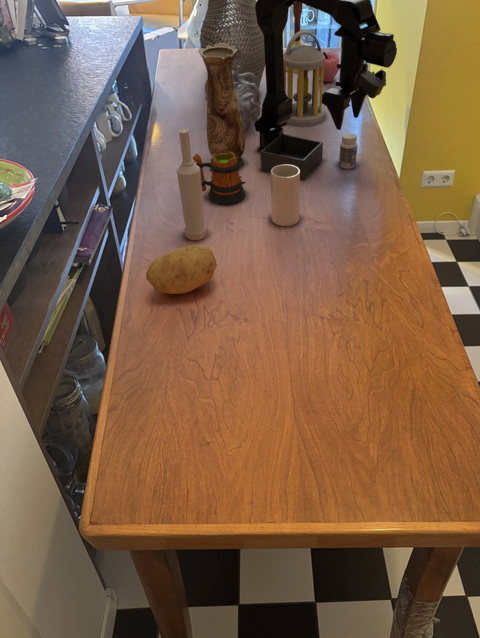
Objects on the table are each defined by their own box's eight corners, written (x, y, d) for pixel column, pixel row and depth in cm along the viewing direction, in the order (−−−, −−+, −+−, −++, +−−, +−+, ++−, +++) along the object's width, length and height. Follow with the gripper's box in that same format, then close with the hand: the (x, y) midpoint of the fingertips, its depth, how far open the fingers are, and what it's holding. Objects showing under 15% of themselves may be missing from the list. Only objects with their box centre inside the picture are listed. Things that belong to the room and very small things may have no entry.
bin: (260, 170, 168) (260, 151, 164) (281, 152, 176) (281, 133, 172) (303, 180, 164) (303, 160, 160) (322, 160, 172) (323, 141, 168)
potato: (219, 299, 126) (216, 260, 119) (149, 304, 125) (142, 265, 118) (217, 271, 133) (214, 233, 126) (151, 276, 132) (144, 238, 125)
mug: (246, 186, 161) (244, 144, 153) (246, 205, 154) (244, 162, 146) (197, 187, 161) (192, 145, 153) (195, 206, 153) (190, 163, 145)
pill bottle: (354, 169, 168) (357, 140, 162) (337, 168, 169) (339, 138, 163) (356, 162, 171) (359, 132, 165) (340, 160, 172) (342, 131, 166)
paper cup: (266, 222, 148) (265, 174, 139) (279, 209, 152) (278, 162, 144) (291, 228, 146) (292, 180, 137) (303, 215, 150) (304, 167, 141)
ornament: (199, 137, 184) (192, 69, 170) (226, 113, 197) (221, 48, 184) (252, 145, 179) (250, 76, 166) (276, 120, 193) (276, 54, 179)
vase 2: (253, 163, 171) (249, 48, 150) (226, 176, 165) (217, 58, 144) (228, 152, 176) (220, 39, 155) (201, 164, 171) (189, 49, 150)
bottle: (210, 231, 145) (200, 127, 128) (201, 242, 142) (189, 137, 124) (190, 227, 146) (178, 124, 129) (181, 238, 143) (167, 133, 125)
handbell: (302, 74, 223) (303, -4, 206) (274, 68, 228) (273, -8, 211) (318, 65, 231) (321, -11, 213) (291, 59, 235) (292, -15, 218)
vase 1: (281, 92, 211) (281, -26, 186) (245, 113, 197) (239, -11, 173) (229, 80, 219) (223, -34, 195) (191, 99, 206) (179, -21, 181)
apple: (338, 85, 215) (340, 55, 208) (314, 85, 215) (315, 55, 208) (337, 76, 222) (339, 46, 215) (313, 76, 222) (314, 46, 215)
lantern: (314, 106, 201) (317, 22, 184) (330, 122, 192) (335, 35, 174) (274, 111, 198) (273, 26, 181) (288, 128, 188) (288, 40, 171)
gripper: (364, 76, 136) (358, 143, 147) (399, 54, 148) (391, 118, 158) (322, 67, 141) (318, 133, 152) (359, 46, 152) (354, 109, 163)
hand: (347, 123), depth 156 cm, fingers open, 9 cm apart
